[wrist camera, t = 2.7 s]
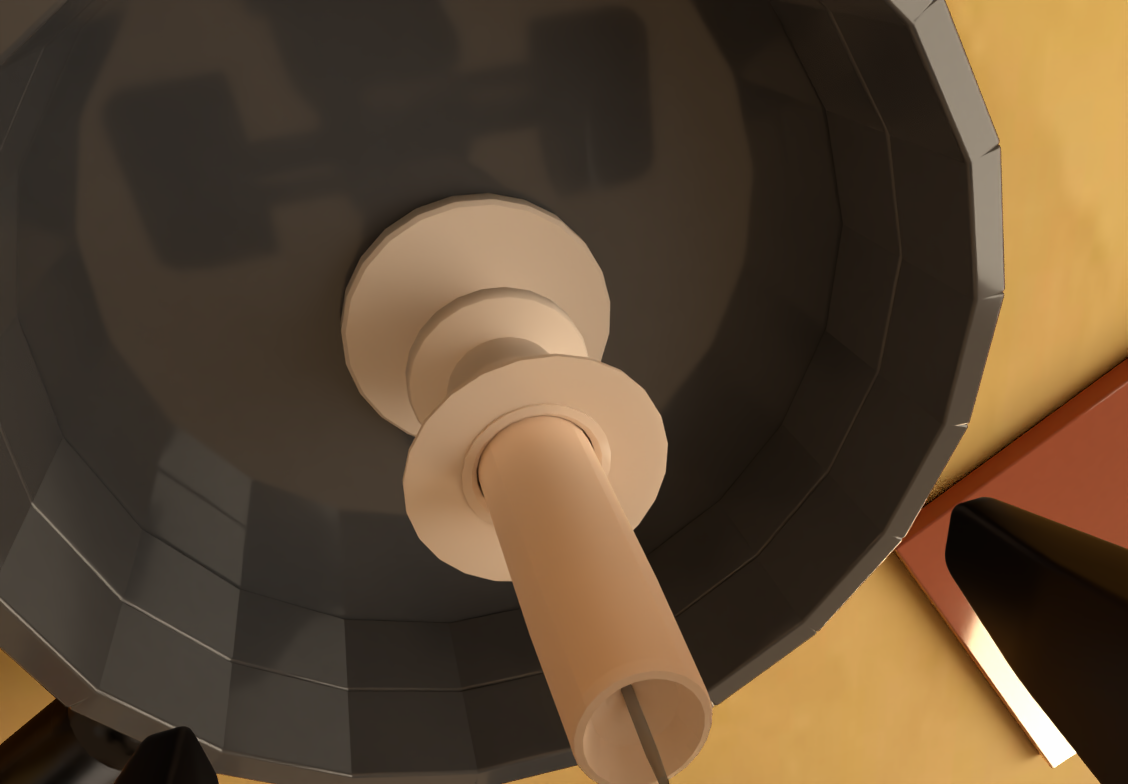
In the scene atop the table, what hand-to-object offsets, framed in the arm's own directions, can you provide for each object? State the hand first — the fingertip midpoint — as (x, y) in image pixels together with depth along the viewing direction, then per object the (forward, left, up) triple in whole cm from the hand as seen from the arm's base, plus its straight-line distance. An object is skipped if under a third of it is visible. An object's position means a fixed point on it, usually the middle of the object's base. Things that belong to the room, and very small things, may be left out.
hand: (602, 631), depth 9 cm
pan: (0, 0, -9) cm, 9 cm away
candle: (0, 0, -8) cm, 9 cm away
